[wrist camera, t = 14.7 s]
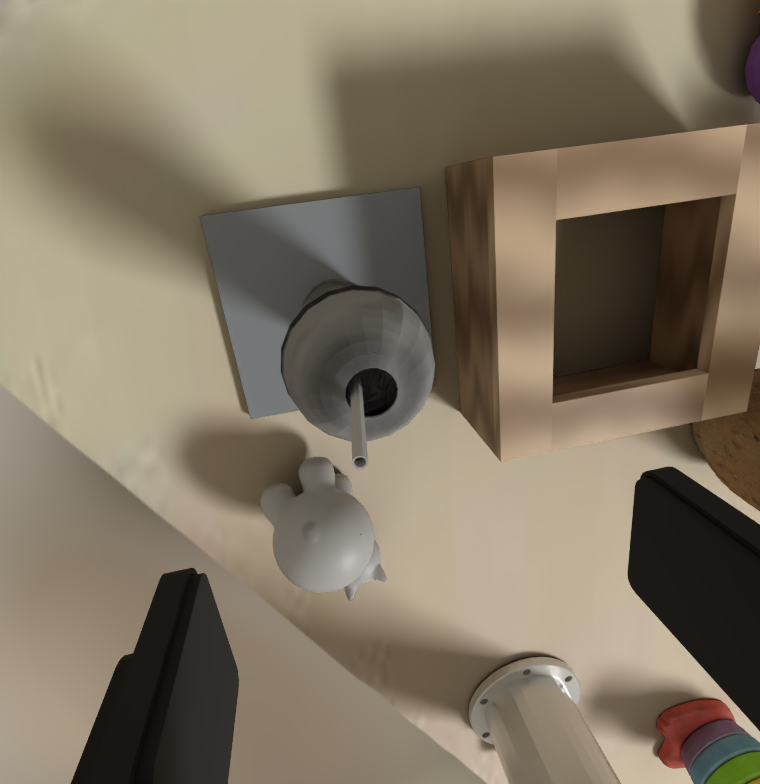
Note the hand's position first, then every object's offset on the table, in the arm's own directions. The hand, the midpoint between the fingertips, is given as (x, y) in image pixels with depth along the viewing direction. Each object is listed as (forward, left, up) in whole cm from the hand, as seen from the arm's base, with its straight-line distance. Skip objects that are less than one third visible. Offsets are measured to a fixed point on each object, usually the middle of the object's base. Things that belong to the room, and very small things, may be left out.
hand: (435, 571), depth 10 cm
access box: (-1, -18, -26) cm, 31 cm away
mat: (0, 0, -26) cm, 26 cm away
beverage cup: (0, 0, -25) cm, 25 cm away
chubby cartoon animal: (-16, +3, -26) cm, 31 cm away
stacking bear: (-60, -37, -26) cm, 75 cm away
